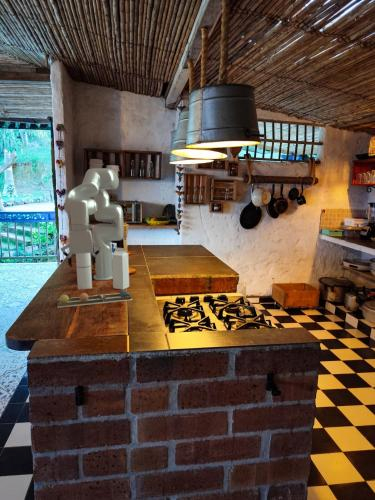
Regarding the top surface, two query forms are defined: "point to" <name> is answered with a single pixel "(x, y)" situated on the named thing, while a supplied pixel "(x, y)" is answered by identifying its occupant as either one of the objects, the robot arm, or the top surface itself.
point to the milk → (120, 269)
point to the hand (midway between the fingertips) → (82, 265)
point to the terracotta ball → (83, 297)
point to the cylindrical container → (84, 271)
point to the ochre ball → (64, 299)
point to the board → (94, 299)
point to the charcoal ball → (123, 293)
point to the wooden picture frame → (80, 301)
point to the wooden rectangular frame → (115, 298)
